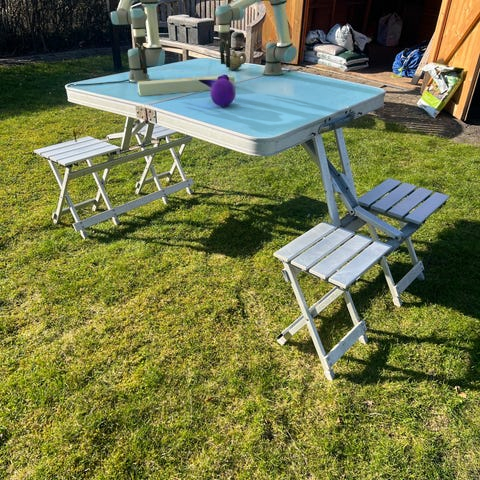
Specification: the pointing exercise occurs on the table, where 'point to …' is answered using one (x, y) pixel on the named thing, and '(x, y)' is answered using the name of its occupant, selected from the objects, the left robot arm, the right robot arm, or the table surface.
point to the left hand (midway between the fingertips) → (144, 71)
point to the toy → (221, 90)
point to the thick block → (176, 85)
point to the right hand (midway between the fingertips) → (225, 65)
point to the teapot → (236, 60)
